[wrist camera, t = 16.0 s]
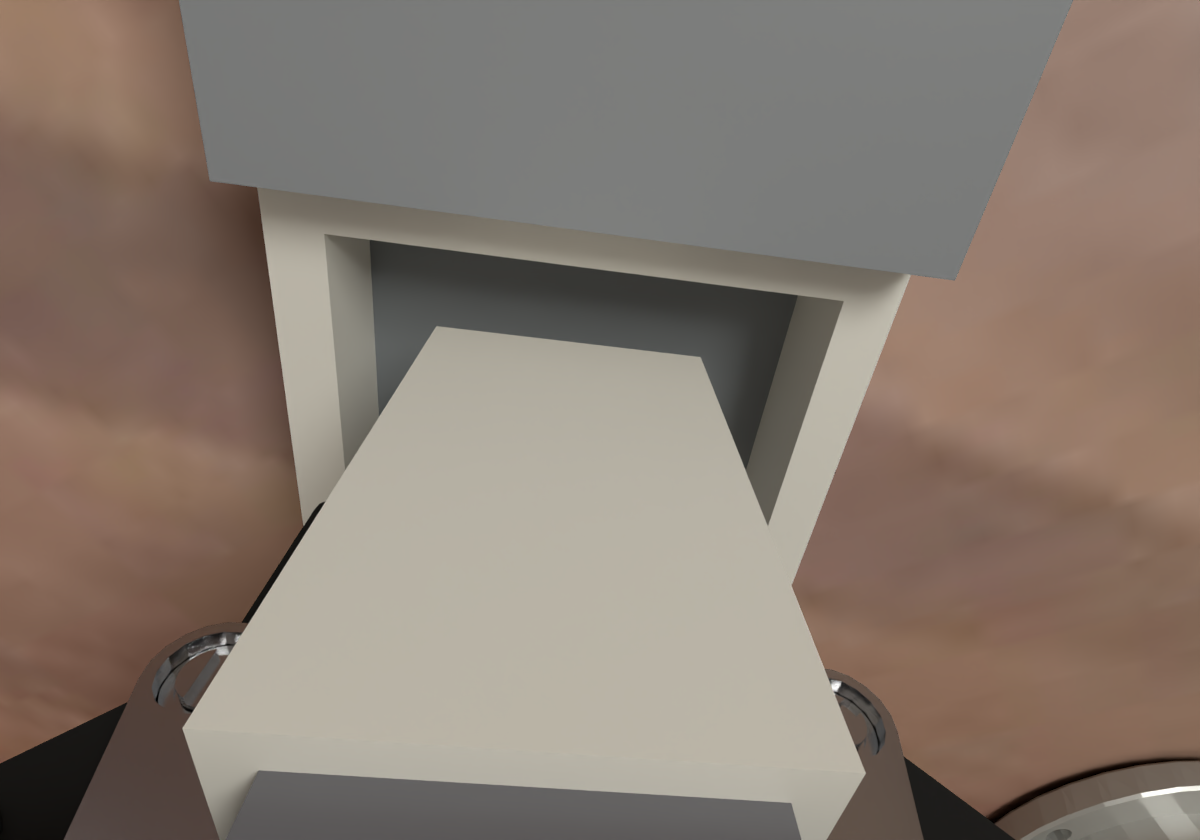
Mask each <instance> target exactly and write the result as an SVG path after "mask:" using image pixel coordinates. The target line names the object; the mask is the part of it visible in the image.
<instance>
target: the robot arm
mask: <svg viewBox="0 0 1200 840" xmlns="http://www.w3.org/2000/svg"><path fill="white" fill-rule="evenodd" d="M324 503H325V502H322V503H320V504H319V505H318V506H317V507H316V508H315V509H314V511H313V512H312V514H311V516H310V517H309V519H308V520H307V522H306V523H305V525H304V526H303V528H302V530H301V531H300V533H299V534H298V536H297V537H296V539H295V540H294V542H293V544H292V545H291V547H290V548H289V550H288V551H287V553H286V554H285V556H284V558H283V559H282V561H281V562H280V564H279V565H278V567H277V568H276V570H275V572H274V573H273V575H272V576H271V578H270V579H269V581H268V582H267V584H266V586H265V587H264V589H263V590H262V592H261V593H260V595H259V596H258V598H257V600H256V601H255V603H254V604H253V606H252V607H251V609H250V610H249V612H248V613H247V615H246V617H245V618H244V620H243V621H242V623H229V622H227V623H222V624H216V625H211V626H206V627H204V628H201V629H198V630H196V631H193V632H191V633H188V634H186V635H184V636H182V637H181V638H179V639H177V640H176V641H174V642H172V643H171V644H169V645H168V646H166V647H165V648H164V649H163V650H162V651H161V652H159V653H158V654H157V655H156V656H155V657H154V658H153V659H152V660H151V661H150V662H149V664H148V665H147V667H146V668H145V670H144V671H143V673H142V674H141V676H140V677H139V679H138V681H137V683H136V686H135V688H134V690H133V692H132V694H131V696H130V698H129V701H128V702H127V703H125V704H123V705H121V706H119V707H117V708H115V709H113V710H111V711H109V712H106V713H104V714H102V715H100V716H98V717H96V718H94V719H92V720H90V721H88V722H86V723H84V724H82V725H79V726H77V727H75V728H73V729H71V730H69V731H67V732H65V733H63V734H61V735H59V736H57V737H55V738H52V739H50V740H48V741H46V742H44V743H42V744H40V745H38V746H36V747H34V748H32V749H30V750H28V751H25V752H23V753H21V754H19V755H17V756H15V757H13V758H11V759H9V760H7V761H5V762H3V763H1V764H0V840H220V839H219V836H218V833H217V830H216V827H215V824H214V821H213V818H212V815H211V812H210V809H209V807H208V804H207V801H206V798H205V795H204V792H203V789H202V786H201V783H200V780H199V777H198V774H197V771H196V768H195V765H194V762H193V759H192V756H191V753H190V750H189V747H188V744H187V741H186V738H185V735H184V732H183V729H182V728H183V727H184V725H185V723H186V722H187V720H188V719H189V717H190V715H191V714H192V712H193V711H194V709H195V708H196V706H197V704H198V703H199V701H200V700H201V698H202V696H203V695H204V693H205V692H206V690H207V689H208V687H209V685H210V684H211V682H212V681H213V679H214V677H215V676H216V674H217V673H218V671H219V670H220V668H221V666H222V665H223V663H224V662H225V660H226V658H227V657H228V655H229V654H230V652H231V651H232V649H233V647H234V646H235V644H236V643H237V641H238V639H239V638H240V636H241V635H242V633H243V632H244V630H245V628H246V627H247V625H248V624H249V622H250V620H251V619H252V617H253V616H254V614H255V613H256V611H257V609H258V608H259V606H260V605H261V603H262V601H263V600H264V598H265V597H266V595H267V594H268V592H269V590H270V589H271V587H272V586H273V584H274V582H275V581H276V579H277V578H278V576H279V575H280V573H281V571H282V570H283V568H284V567H285V565H286V563H287V562H288V560H289V559H290V557H291V556H292V554H293V552H294V551H295V549H296V548H297V546H298V544H299V543H300V541H301V540H302V538H303V537H304V535H305V533H306V532H307V530H308V529H309V527H310V526H311V524H312V522H313V521H314V519H315V518H316V516H317V514H318V513H319V511H320V510H321V508H322V507H323V505H324ZM825 672H826V674H827V677H828V679H829V682H830V684H831V687H832V689H833V692H834V694H835V697H836V699H837V702H838V704H839V707H840V709H841V712H842V714H843V717H844V720H845V722H846V725H847V727H848V730H849V732H850V735H851V737H852V740H853V742H854V745H855V747H856V750H857V752H858V755H859V757H860V760H861V762H862V765H863V767H864V770H865V772H866V774H865V776H864V777H863V779H862V781H861V782H860V784H859V786H858V787H857V789H856V791H855V793H854V794H853V796H852V798H851V799H850V801H849V803H848V804H847V806H846V808H845V809H844V811H843V813H842V814H841V816H840V818H839V819H838V821H837V823H836V825H835V826H834V828H833V830H832V831H831V833H830V835H829V836H828V838H827V840H1200V761H1170V762H1161V763H1153V764H1144V765H1137V766H1132V767H1128V768H1123V769H1118V770H1114V771H1109V772H1104V773H1101V774H1097V775H1094V776H1091V777H1088V778H1085V779H1081V780H1078V781H1075V782H1072V783H1069V784H1066V785H1064V786H1061V787H1059V788H1057V789H1054V790H1052V791H1049V792H1047V793H1045V794H1042V795H1040V796H1038V797H1036V798H1034V799H1032V800H1030V801H1028V802H1027V803H1025V804H1023V805H1021V806H1019V807H1018V808H1016V809H1014V810H1012V811H1010V812H1009V813H1008V814H1006V815H1005V816H1003V817H1002V818H1001V819H999V820H998V821H997V822H995V823H992V822H991V821H990V820H988V819H987V818H986V817H984V816H983V815H982V814H980V813H979V812H978V811H976V810H975V809H974V808H972V807H971V806H970V805H968V804H967V803H966V802H964V801H963V800H962V799H960V798H959V797H957V796H956V795H955V794H953V793H952V792H951V791H949V790H948V789H947V788H945V787H944V786H943V785H941V784H940V783H939V782H937V781H936V780H935V779H933V778H932V777H931V776H929V775H928V774H927V773H925V772H924V771H922V770H921V769H920V768H918V767H917V766H916V765H914V764H913V763H912V762H910V761H909V760H908V759H906V758H905V757H904V756H903V752H902V748H901V744H900V740H899V736H898V732H897V729H896V726H895V724H894V721H893V719H892V716H891V714H890V713H889V712H888V710H887V709H886V707H885V706H884V705H883V703H882V702H881V700H880V699H879V698H878V697H877V696H875V695H874V694H873V693H872V692H871V691H870V690H869V689H868V688H867V687H866V686H864V685H863V684H861V683H859V682H858V681H856V680H855V679H853V678H851V677H850V676H847V675H845V674H842V673H840V672H837V671H834V670H830V669H825Z"/></svg>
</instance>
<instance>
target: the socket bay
mask: <svg viewBox="0 0 1200 840" xmlns="http://www.w3.org/2000/svg"><path fill="white" fill-rule="evenodd" d="M257 189H258V197H259V204H260V211H261V219H262V226H263V233H264V241H265V248H266V255H267V263H268V270H269V277H270V285H271V292H272V299H273V307H274V314H275V321H276V329H277V336H278V344H279V351H280V358H281V366H282V373H283V380H284V388H285V395H286V402H287V410H288V417H289V424H290V432H291V439H292V446H293V454H294V461H295V468H296V476H297V483H298V490H299V498H300V505H301V512H302V520H303V526H304V525H305V523H306V522H307V520H308V519H309V517H310V516H311V514H312V512H313V511H314V509H315V508H316V507H317V506H318V505H319V504H320V503H322V502H326V500H327V499H328V497H329V495H330V494H331V492H332V491H333V489H334V488H335V486H336V484H337V483H338V481H339V480H340V478H341V476H342V475H343V473H344V472H345V470H346V469H347V467H348V465H349V464H350V462H351V461H352V459H353V457H354V456H355V454H356V453H357V451H358V450H359V448H360V446H361V445H362V443H363V442H364V440H365V438H366V437H367V435H368V434H369V432H370V431H371V429H372V427H373V426H374V424H375V423H376V421H377V419H378V418H379V416H380V415H381V413H382V412H383V410H384V408H385V407H386V405H387V404H388V402H389V400H390V399H391V397H392V396H393V394H394V393H395V391H396V389H397V388H398V386H399V385H400V383H401V381H402V380H403V378H404V377H405V375H406V374H407V372H408V370H409V369H410V367H411V366H412V364H413V362H414V361H415V359H416V358H417V356H418V355H419V353H420V351H421V350H422V348H423V347H424V345H425V343H426V342H427V340H428V339H429V337H430V336H431V334H432V332H433V331H434V329H435V328H436V326H440V327H448V328H457V329H465V330H474V331H482V332H491V333H499V334H508V335H517V336H525V337H534V338H542V339H551V340H559V341H568V342H576V343H585V344H593V345H602V346H610V347H619V348H627V349H636V350H644V351H653V352H662V353H670V354H679V355H687V356H696V357H701V359H702V362H703V364H704V367H705V369H706V372H707V374H708V377H709V380H710V382H711V385H712V387H713V390H714V392H715V395H716V397H717V400H718V402H719V405H720V407H721V410H722V412H723V415H724V417H725V420H726V422H727V425H728V427H729V430H730V432H731V435H732V437H733V440H734V442H735V445H736V448H737V450H738V453H739V455H740V458H741V460H742V463H743V465H744V468H745V470H746V473H747V475H748V478H749V480H750V483H751V485H752V488H753V490H754V493H755V495H756V498H757V500H758V503H759V505H760V508H761V510H762V513H763V516H764V518H765V521H766V523H767V526H768V528H769V531H770V533H771V536H772V538H773V541H774V543H775V546H776V548H777V551H778V553H779V556H780V558H781V561H782V563H783V566H784V568H785V571H786V573H787V576H788V578H789V581H790V584H791V585H792V583H793V580H794V578H795V575H796V572H797V570H798V567H799V565H800V562H801V559H802V557H803V554H804V552H805V549H806V546H807V544H808V541H809V539H810V536H811V533H812V531H813V528H814V526H815V523H816V520H817V518H818V515H819V513H820V510H821V507H822V505H823V502H824V500H825V497H826V494H827V492H828V489H829V487H830V484H831V481H832V479H833V476H834V474H835V471H836V468H837V466H838V463H839V460H840V458H841V455H842V453H843V450H844V447H845V445H846V442H847V440H848V437H849V434H850V432H851V429H852V427H853V424H854V421H855V419H856V416H857V414H858V411H859V408H860V406H861V403H862V401H863V398H864V395H865V393H866V390H867V388H868V385H869V382H870V380H871V377H872V375H873V372H874V369H875V367H876V364H877V362H878V359H879V356H880V354H881V351H882V349H883V346H884V343H885V341H886V338H887V336H888V333H889V330H890V328H891V325H892V323H893V320H894V317H895V315H896V312H897V310H898V307H899V304H900V302H901V299H902V297H903V294H904V291H905V289H906V286H907V284H908V281H909V278H910V276H911V275H910V274H903V273H895V272H888V271H880V270H873V269H865V268H858V267H850V266H843V265H835V264H828V263H820V262H813V261H805V260H798V259H790V258H783V257H775V256H768V255H760V254H753V253H745V252H738V251H730V250H723V249H715V248H708V247H700V246H693V245H685V244H678V243H670V242H663V241H655V240H648V239H640V238H633V237H625V236H618V235H610V234H603V233H595V232H588V231H580V230H573V229H565V228H558V227H550V226H543V225H535V224H528V223H520V222H513V221H506V220H498V219H491V218H483V217H476V216H468V215H461V214H453V213H446V212H438V211H431V210H423V209H416V208H408V207H401V206H393V205H386V204H378V203H371V202H363V201H356V200H348V199H341V198H333V197H326V196H318V195H311V194H303V193H296V192H288V191H281V190H273V189H266V188H258V187H257Z"/></svg>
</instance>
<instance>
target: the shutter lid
mask: <svg viewBox="0 0 1200 840" xmlns="http://www.w3.org/2000/svg"><path fill="white" fill-rule="evenodd" d="M1072 2H1073V0H179V4H180V10H181V16H182V21H183V27H184V33H185V39H186V45H187V51H188V56H189V62H190V68H191V74H192V80H193V86H194V91H195V97H196V103H197V109H198V115H199V121H200V127H201V132H202V138H203V144H204V150H205V156H206V162H207V167H208V173H209V179H210V181H213V182H221V183H228V184H236V185H243V186H251V187H258V188H266V189H273V190H281V191H288V192H296V193H303V194H311V195H318V196H326V197H333V198H341V199H348V200H356V201H363V202H371V203H378V204H386V205H393V206H401V207H408V208H416V209H423V210H431V211H438V212H446V213H453V214H461V215H468V216H476V217H483V218H491V219H498V220H506V221H513V222H520V223H528V224H535V225H543V226H550V227H558V228H565V229H573V230H580V231H588V232H595V233H603V234H610V235H618V236H625V237H633V238H640V239H648V240H655V241H663V242H670V243H678V244H685V245H693V246H700V247H708V248H715V249H723V250H730V251H738V252H745V253H753V254H760V255H768V256H775V257H783V258H790V259H798V260H805V261H813V262H820V263H828V264H835V265H843V266H850V267H858V268H865V269H873V270H880V271H888V272H895V273H903V274H910V275H918V276H925V277H933V278H940V279H948V280H955V279H956V277H957V274H958V272H959V270H960V267H961V265H962V262H963V260H964V258H965V255H966V253H967V251H968V248H969V246H970V243H971V241H972V239H973V236H974V234H975V232H976V229H977V227H978V225H979V222H980V220H981V217H982V215H983V213H984V210H985V208H986V206H987V203H988V201H989V198H990V196H991V194H992V191H993V189H994V187H995V184H996V182H997V179H998V177H999V175H1000V172H1001V170H1002V168H1003V165H1004V163H1005V161H1006V158H1007V156H1008V153H1009V151H1010V149H1011V146H1012V144H1013V142H1014V139H1015V137H1016V134H1017V132H1018V130H1019V127H1020V125H1021V123H1022V120H1023V118H1024V116H1025V113H1026V111H1027V108H1028V106H1029V104H1030V101H1031V99H1032V97H1033V94H1034V92H1035V89H1036V87H1037V85H1038V82H1039V80H1040V78H1041V75H1042V73H1043V70H1044V68H1045V66H1046V63H1047V61H1048V59H1049V56H1050V54H1051V52H1052V49H1053V47H1054V44H1055V42H1056V40H1057V37H1058V35H1059V33H1060V30H1061V28H1062V25H1063V23H1064V21H1065V18H1066V16H1067V14H1068V11H1069V9H1070V6H1071V4H1072Z"/></svg>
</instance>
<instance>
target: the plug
mask: <svg viewBox="0 0 1200 840" xmlns="http://www.w3.org/2000/svg"><path fill="white" fill-rule="evenodd" d="M182 729H183V732H184V735H185V738H186V741H187V744H188V747H189V750H190V753H191V756H192V759H193V762H194V765H195V768H196V771H197V774H198V777H199V780H200V783H201V786H202V789H203V792H204V795H205V798H206V801H207V804H208V807H209V809H210V812H211V815H212V818H213V821H214V824H215V827H216V830H217V833H218V836H219V839H220V840H827V838H828V836H829V835H830V833H831V831H832V830H833V828H834V826H835V825H836V823H837V821H838V819H839V818H840V816H841V814H842V813H843V811H844V809H845V808H846V806H847V804H848V803H849V801H850V799H851V798H852V796H853V794H854V793H855V791H856V789H857V787H858V786H859V784H860V782H861V781H862V779H863V777H864V776H865V774H866V772H865V770H864V767H863V765H862V762H861V760H860V757H859V755H858V752H857V750H856V747H855V745H854V742H853V740H852V737H851V735H850V732H849V730H848V727H847V725H846V722H845V720H844V717H843V714H842V712H841V709H840V707H839V704H838V702H837V699H836V697H835V694H834V692H833V689H832V687H831V684H830V682H829V679H828V677H827V674H826V672H825V669H824V667H823V664H822V662H821V659H820V657H819V654H818V652H817V649H816V646H815V644H814V641H813V639H812V636H811V634H810V631H809V629H808V626H807V624H806V621H805V619H804V616H803V614H802V611H801V609H800V606H799V604H798V601H797V599H796V596H795V594H794V591H793V589H792V586H791V584H790V581H789V578H788V576H787V573H786V571H785V568H784V566H783V563H782V561H781V558H780V556H779V553H778V551H777V548H776V546H775V543H774V541H773V538H772V536H771V533H770V531H769V528H768V526H767V523H766V521H765V518H764V516H763V513H762V510H761V508H760V505H759V503H758V500H757V498H756V495H755V493H754V490H753V488H752V485H751V483H750V480H749V478H748V475H747V473H746V470H745V468H744V465H743V463H742V460H741V458H740V455H739V453H738V450H737V448H736V445H735V442H734V440H733V437H732V435H731V432H730V430H729V427H728V425H727V422H726V420H725V417H724V415H723V412H722V410H721V407H720V405H719V402H718V400H717V397H716V395H715V392H714V390H713V387H712V385H711V382H710V380H709V377H708V374H707V372H706V369H705V367H704V364H703V362H702V359H701V357H696V356H687V355H679V354H670V353H662V352H653V351H644V350H636V349H627V348H619V347H610V346H602V345H593V344H585V343H576V342H568V341H559V340H551V339H542V338H534V337H525V336H517V335H508V334H499V333H491V332H482V331H474V330H465V329H457V328H448V327H440V326H436V328H435V329H434V331H433V332H432V334H431V336H430V337H429V339H428V340H427V342H426V343H425V345H424V347H423V348H422V350H421V351H420V353H419V355H418V356H417V358H416V359H415V361H414V362H413V364H412V366H411V367H410V369H409V370H408V372H407V374H406V375H405V377H404V378H403V380H402V381H401V383H400V385H399V386H398V388H397V389H396V391H395V393H394V394H393V396H392V397H391V399H390V400H389V402H388V404H387V405H386V407H385V408H384V410H383V412H382V413H381V415H380V416H379V418H378V419H377V421H376V423H375V424H374V426H373V427H372V429H371V431H370V432H369V434H368V435H367V437H366V438H365V440H364V442H363V443H362V445H361V446H360V448H359V450H358V451H357V453H356V454H355V456H354V457H353V459H352V461H351V462H350V464H349V465H348V467H347V469H346V470H345V472H344V473H343V475H342V476H341V478H340V480H339V481H338V483H337V484H336V486H335V488H334V489H333V491H332V492H331V494H330V495H329V497H328V499H327V500H326V502H325V503H324V505H323V507H322V508H321V510H320V511H319V513H318V514H317V516H316V518H315V519H314V521H313V522H312V524H311V526H310V527H309V529H308V530H307V532H306V533H305V535H304V537H303V538H302V540H301V541H300V543H299V544H298V546H297V548H296V549H295V551H294V552H293V554H292V556H291V557H290V559H289V560H288V562H287V563H286V565H285V567H284V568H283V570H282V571H281V573H280V575H279V576H278V578H277V579H276V581H275V582H274V584H273V586H272V587H271V589H270V590H269V592H268V594H267V595H266V597H265V598H264V600H263V601H262V603H261V605H260V606H259V608H258V609H257V611H256V613H255V614H254V616H253V617H252V619H251V620H250V622H249V624H248V625H247V627H246V628H245V630H244V632H243V633H242V635H241V636H240V638H239V639H238V641H237V643H236V644H235V646H234V647H233V649H232V651H231V652H230V654H229V655H228V657H227V658H226V660H225V662H224V663H223V665H222V666H221V668H220V670H219V671H218V673H217V674H216V676H215V677H214V679H213V681H212V682H211V684H210V685H209V687H208V689H207V690H206V692H205V693H204V695H203V696H202V698H201V700H200V701H199V703H198V704H197V706H196V708H195V709H194V711H193V712H192V714H191V715H190V717H189V719H188V720H187V722H186V723H185V725H184V727H183V728H182Z"/></svg>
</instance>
